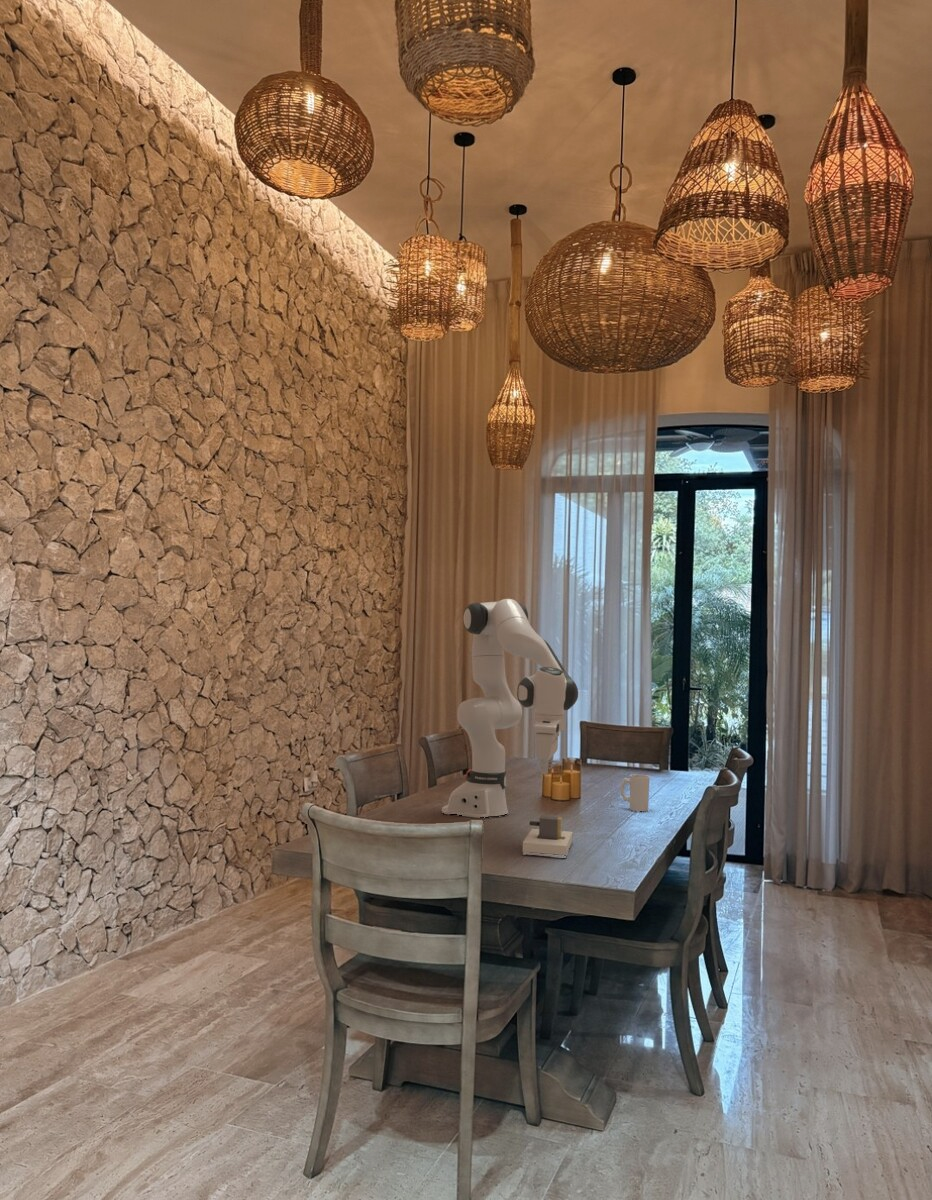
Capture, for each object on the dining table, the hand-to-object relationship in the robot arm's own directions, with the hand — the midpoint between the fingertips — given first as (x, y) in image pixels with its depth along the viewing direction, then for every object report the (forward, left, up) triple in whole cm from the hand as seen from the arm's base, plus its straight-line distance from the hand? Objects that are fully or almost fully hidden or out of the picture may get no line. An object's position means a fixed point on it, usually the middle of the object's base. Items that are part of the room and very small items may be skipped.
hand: (546, 771), depth 262 cm
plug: (+2, -4, -20) cm, 21 cm away
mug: (+24, +63, -22) cm, 71 cm away
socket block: (+2, -4, -21) cm, 22 cm away
